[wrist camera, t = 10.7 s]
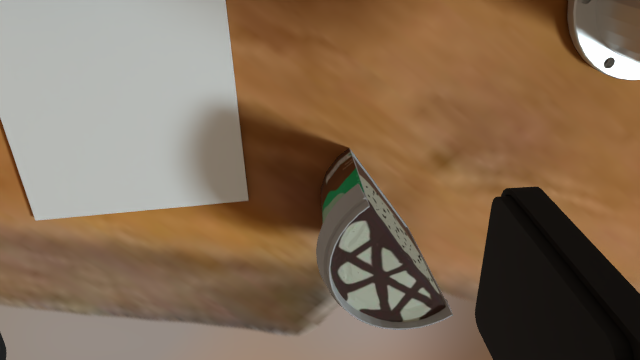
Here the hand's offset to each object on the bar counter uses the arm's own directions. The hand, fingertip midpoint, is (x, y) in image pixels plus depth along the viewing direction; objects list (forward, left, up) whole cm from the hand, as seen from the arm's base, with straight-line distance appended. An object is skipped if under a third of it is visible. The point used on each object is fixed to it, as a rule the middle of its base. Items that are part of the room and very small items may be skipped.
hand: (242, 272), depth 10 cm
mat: (+9, +7, -29) cm, 31 cm away
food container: (-7, +17, -29) cm, 35 cm away
